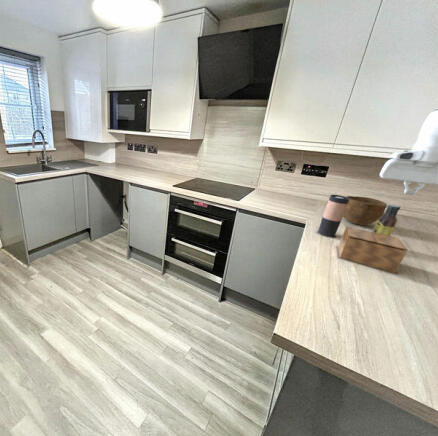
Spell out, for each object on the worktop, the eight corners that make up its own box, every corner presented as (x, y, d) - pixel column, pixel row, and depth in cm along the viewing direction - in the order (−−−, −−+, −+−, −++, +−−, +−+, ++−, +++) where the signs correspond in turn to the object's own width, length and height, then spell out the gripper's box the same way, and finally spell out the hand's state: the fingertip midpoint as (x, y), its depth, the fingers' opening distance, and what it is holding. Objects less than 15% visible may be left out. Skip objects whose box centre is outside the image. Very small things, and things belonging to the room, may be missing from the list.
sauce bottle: (368, 240, 117) (385, 202, 110) (385, 244, 113) (404, 205, 106) (366, 243, 113) (384, 204, 106) (384, 248, 109) (404, 208, 101)
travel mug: (316, 229, 126) (328, 193, 118) (333, 233, 123) (347, 196, 116) (318, 234, 119) (332, 197, 112) (336, 238, 116) (352, 200, 109)
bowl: (360, 230, 129) (371, 204, 123) (329, 218, 146) (337, 195, 140) (385, 229, 133) (397, 204, 127) (352, 217, 150) (362, 195, 145)
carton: (388, 259, 99) (399, 237, 95) (395, 273, 89) (407, 249, 85) (338, 246, 108) (346, 226, 104) (339, 257, 97) (348, 235, 94)
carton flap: (398, 238, 95) (398, 237, 95) (407, 250, 85) (407, 249, 85) (371, 232, 99) (371, 231, 99) (376, 243, 89) (377, 242, 89)
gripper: (467, 159, 80) (447, 197, 85) (387, 152, 91) (372, 187, 96) (477, 160, 75) (454, 201, 80) (390, 153, 86) (375, 190, 91)
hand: (409, 193), depth 88 cm, fingers closed
